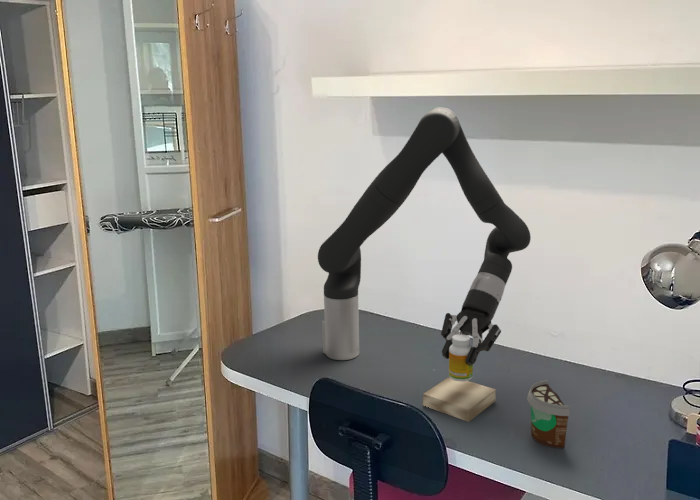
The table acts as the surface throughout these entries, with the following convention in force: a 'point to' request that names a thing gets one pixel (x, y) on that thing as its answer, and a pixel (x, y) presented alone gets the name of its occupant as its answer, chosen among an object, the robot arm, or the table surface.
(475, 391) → the base block
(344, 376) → the table surface
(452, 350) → the supplement bottle
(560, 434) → the food container
